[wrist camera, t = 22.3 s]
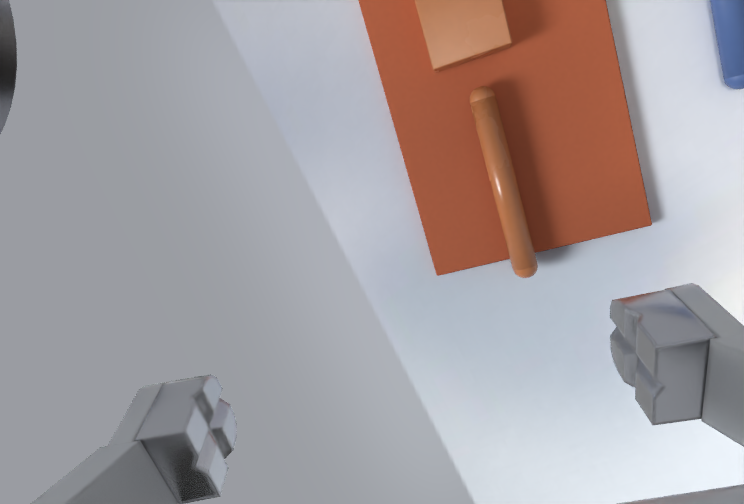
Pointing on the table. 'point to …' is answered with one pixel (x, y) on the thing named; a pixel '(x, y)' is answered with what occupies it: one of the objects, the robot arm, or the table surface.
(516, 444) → the table surface
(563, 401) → the table surface
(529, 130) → the terracotta mat
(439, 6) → the square head mallet
